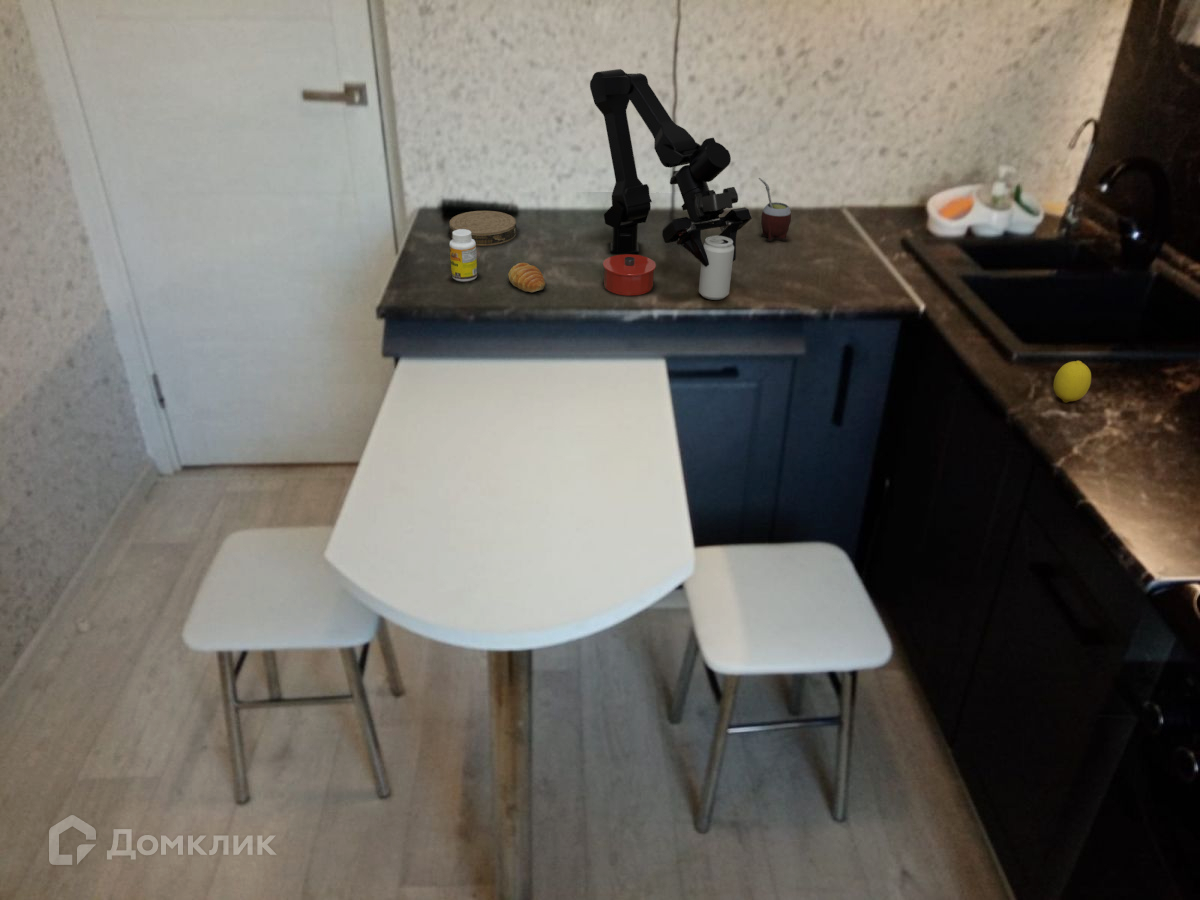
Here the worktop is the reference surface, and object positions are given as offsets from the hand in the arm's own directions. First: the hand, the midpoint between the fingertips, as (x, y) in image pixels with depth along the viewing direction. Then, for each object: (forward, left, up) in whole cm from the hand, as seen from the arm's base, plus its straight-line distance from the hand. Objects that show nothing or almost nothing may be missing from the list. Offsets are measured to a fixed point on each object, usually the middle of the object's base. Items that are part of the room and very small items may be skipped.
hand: (720, 263), depth 186 cm
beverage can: (-1, -1, -8) cm, 8 cm away
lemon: (+40, +56, -8) cm, 69 cm away
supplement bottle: (-9, -54, -8) cm, 55 cm away
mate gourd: (-37, +17, -8) cm, 42 cm away
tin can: (-36, -53, -8) cm, 65 cm away
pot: (-7, -18, -8) cm, 21 cm away
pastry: (-6, -40, -8) cm, 41 cm away
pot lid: (-7, -18, -4) cm, 20 cm away
